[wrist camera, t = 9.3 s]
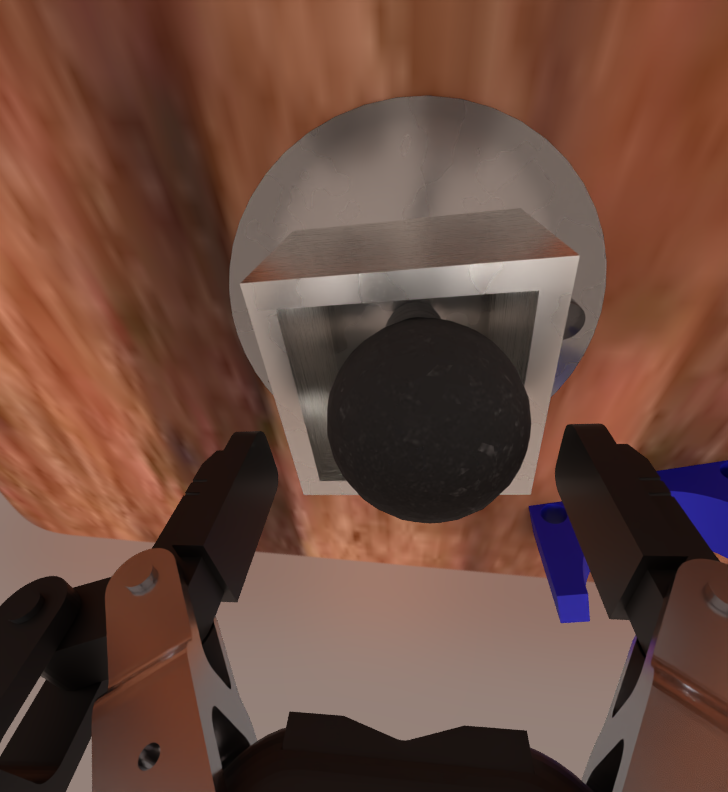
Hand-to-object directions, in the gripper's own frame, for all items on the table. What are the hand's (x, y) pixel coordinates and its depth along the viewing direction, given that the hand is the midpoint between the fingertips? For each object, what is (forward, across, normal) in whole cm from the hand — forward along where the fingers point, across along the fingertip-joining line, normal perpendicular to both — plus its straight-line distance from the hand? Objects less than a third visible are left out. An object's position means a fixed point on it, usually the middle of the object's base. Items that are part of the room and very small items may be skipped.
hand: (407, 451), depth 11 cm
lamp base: (+9, 0, 0) cm, 9 cm away
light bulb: (+8, 0, 0) cm, 8 cm away
